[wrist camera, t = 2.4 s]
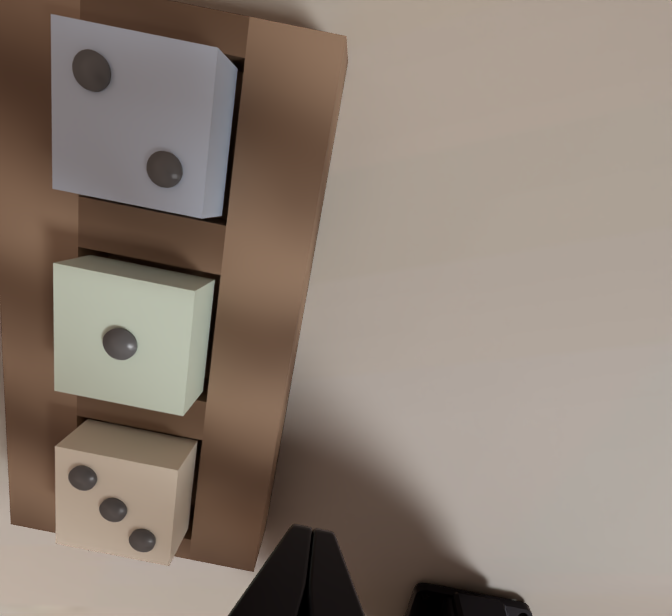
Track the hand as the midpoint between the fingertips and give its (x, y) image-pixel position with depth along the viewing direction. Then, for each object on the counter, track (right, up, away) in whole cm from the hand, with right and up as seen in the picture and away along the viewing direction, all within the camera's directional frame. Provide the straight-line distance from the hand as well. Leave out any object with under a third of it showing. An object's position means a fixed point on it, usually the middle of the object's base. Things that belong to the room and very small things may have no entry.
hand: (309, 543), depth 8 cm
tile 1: (-7, +4, +8) cm, 12 cm away
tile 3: (-9, -3, +10) cm, 14 cm away
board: (-7, +5, +11) cm, 13 cm away
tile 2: (-6, +11, +6) cm, 14 cm away
